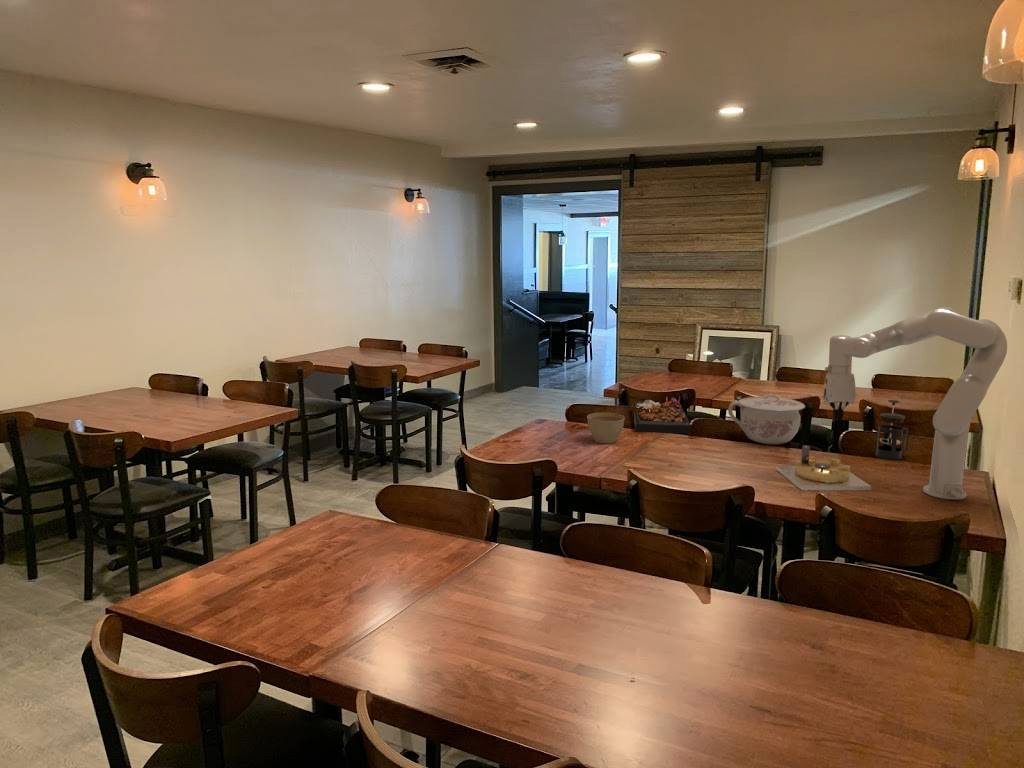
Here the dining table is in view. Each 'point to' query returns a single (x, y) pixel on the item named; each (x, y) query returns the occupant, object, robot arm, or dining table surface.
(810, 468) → the gold disc with post
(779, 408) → the chamber pot
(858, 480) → the base plate
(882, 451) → the french press
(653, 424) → the food platter
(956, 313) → the robot arm
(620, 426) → the planter bowl
